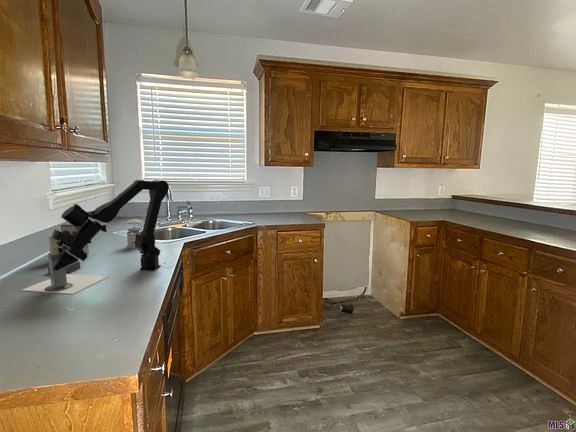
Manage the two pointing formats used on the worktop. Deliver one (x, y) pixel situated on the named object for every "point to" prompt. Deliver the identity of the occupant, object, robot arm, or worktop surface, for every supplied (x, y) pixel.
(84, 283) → the paper sheet
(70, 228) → the coffee box
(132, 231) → the french press
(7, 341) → the worktop surface
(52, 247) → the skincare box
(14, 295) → the worktop surface
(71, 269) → the button socket
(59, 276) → the dark grey block
